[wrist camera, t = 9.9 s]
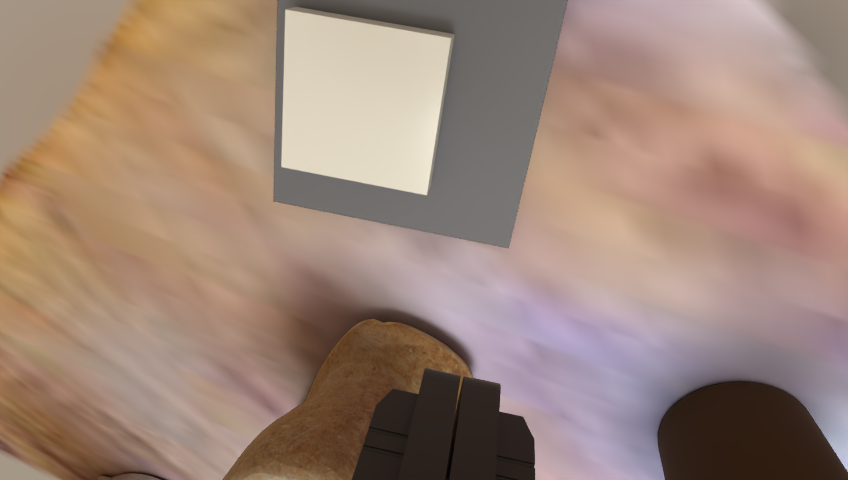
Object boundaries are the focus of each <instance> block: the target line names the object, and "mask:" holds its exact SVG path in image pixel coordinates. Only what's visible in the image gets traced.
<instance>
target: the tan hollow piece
mask: <svg viewBox="0 0 848 480" xmlns="http://www.w3.org/2000/svg"><path fill="white" fill-rule="evenodd" d="M425 368H428V369H433V370H437V371H442V372H447V373H451V374H456V375H461V378H460V385H459V391H458V398H459V394H460V389H461V385H462V381H463V377H464V376H466V377H471V378H473V377H472V373H471V371H470V369H469V367H468V366H467V364H466V363H465V362H464V361H463V360H462V358H460V357H459V356H458V355H457V354H456V353H455V352H454V351H452V350H451V349H450V348H449V347H448V346H446V345H445V344H444V343H442V342H440V341H439V340H437V339H435V338H434V337H432V336H430V335H428V334H426V333H424V332H422V331H420V330H418V329H416V328H414V327H412V326H409V325H406V324H403V323H398V322H386V323H383V322H381V321H379V320H376V319H367V320H364V321H361V322H359V323H357V324H356V325H355V326H353V327H352V328H351V329H350V330H349V331H348V332H347V333H346V334H345V335H344V336H343V337H342V338H341V339H340V340H339V341H338V343H337V344H336V345H335V346H334V348H333V349H332V350H331V352H330V353H329V355H328V356H327V358H326V359H325V361H324V363H323V365H322V366H321V368H320V370H319V372H318V374H317V376H316V378H315V380H314V382H313V385H312V387H311V389H310V391H309V393H308V396H307V398H306V400H305V402H304V403H303V404H301V405H299V406H298V407H296V408H294V409H293V410H291V411H290V412H288V413H287V414H285V415H284V416H282V417H280V418H279V419H277V420H276V421H274V422H273V423H272V424H271V425H269V426H268V427H267V428H266V429H264V430H263V431H262V432H261V433H260V434H259V435H258V436H257V437H256V438H255V439H254V440H253V441H252V442H251V443H250V445H249V446H248V447H247V448H246V449H245V450H244V452H243V453H242V454H241V456H240V457H239V458H238V460H237V461H236V462H235V464H234V465H233V466H232V468H231V469H230V471H229V472H228V473H227V475H226V476H225V477H224V479H223V480H352V477H353V474H354V471H355V468H356V465H357V462H358V459H359V456H360V453H361V450H362V448H363V444H364V440H365V437H366V434H367V431H368V429H369V425H370V422H371V419H372V416H373V413H374V410H375V407H376V405H377V404H378V403H379V402H380V401H381V400H382V399H383V398H384V397H385V396H386V395H387V394H388V393H389V392H390V391H391V390H392V389H397V390H402V391H407V392H411V393H416V394H419V390H420V385H421V381H422V377H423V373H424V369H425ZM458 398H457V403H458ZM456 407H457V405H456ZM455 412H456V411H455Z"/></svg>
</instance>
